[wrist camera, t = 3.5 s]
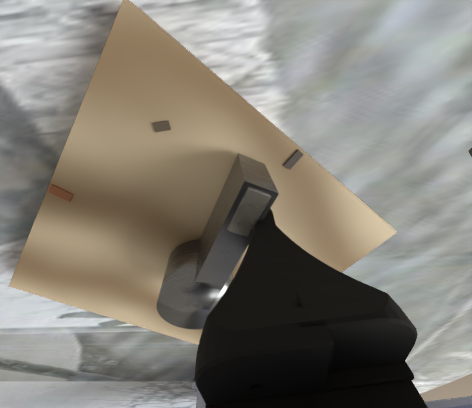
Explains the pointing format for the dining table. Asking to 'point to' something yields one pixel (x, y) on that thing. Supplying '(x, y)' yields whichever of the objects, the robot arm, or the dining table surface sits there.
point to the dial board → (168, 181)
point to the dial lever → (216, 247)
